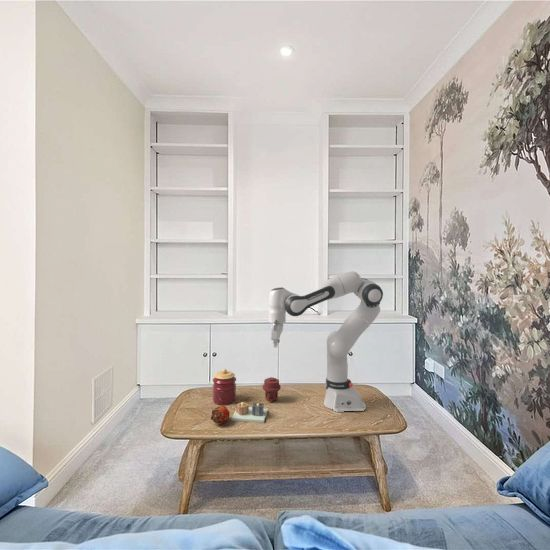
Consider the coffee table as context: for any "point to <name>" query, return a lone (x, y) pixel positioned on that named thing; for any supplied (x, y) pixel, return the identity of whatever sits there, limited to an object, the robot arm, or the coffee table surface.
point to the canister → (224, 387)
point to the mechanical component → (271, 388)
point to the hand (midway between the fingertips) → (276, 344)
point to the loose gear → (257, 409)
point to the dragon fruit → (220, 415)
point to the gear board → (247, 413)
